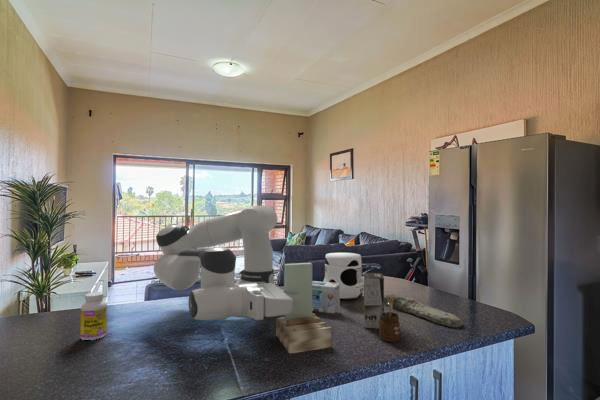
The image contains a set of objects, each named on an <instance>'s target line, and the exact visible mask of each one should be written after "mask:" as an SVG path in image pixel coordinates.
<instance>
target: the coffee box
mask: <svg viewBox="0 0 600 400" xmlns="http://www.w3.org/2000/svg"><path fill="white" fill-rule="evenodd" d="M363 284H364V291H363V328H365V329H367V328H368V329H377V330H379V323H380V320H381V313H384V312H385V311H384V306H385V303H384V294H385V278H384V274H383V273H381V272H364V273H363Z"/></svg>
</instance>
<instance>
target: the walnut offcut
mask: <svg viewBox="0 0 600 400" xmlns="http://www.w3.org/2000/svg"><path fill="white" fill-rule="evenodd" d="M319 318H320V317H318V316H317V315H315V316H313V317H305V318H297V319H289V320H286V327H289V326H297V325H305V324H312V323H319Z"/></svg>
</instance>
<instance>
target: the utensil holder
mask: <svg viewBox="0 0 600 400" xmlns="http://www.w3.org/2000/svg"><path fill="white" fill-rule="evenodd" d="M387 304H388V305H387ZM387 304H385V305H384V313H381V320H380V323H379V329H378V331H379V332H378V333H379V338H380V339H381V340H382V341H384V342H389V343H396V342H398V341H399V340H400V338H401V325H400V324H401V323H400V320H399V319H400V318H399V317H400V316H399V315H398V313H395V312H394V311H393V309H394V308H393V307H392V306H393V295H392V303H391V295H390V303H389V295H388V303H387ZM386 305H387V306H386ZM387 307H389V311H386V308H387Z"/></svg>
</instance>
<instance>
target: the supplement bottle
mask: <svg viewBox="0 0 600 400" xmlns="http://www.w3.org/2000/svg"><path fill="white" fill-rule="evenodd" d="M104 296H105V295H104V292H102V291H94V292H93V291H92V292H88V293H86V294H85V295H84V300H85V302H84V303H82V304H81V306H80V339H81V340H82V341H84V340H91V341H96V339H97V340H99V338H100V339H102V338H104V337H106V336H107V331H108V330H107V329H108V327H107V325H108V324H107V323H108V322H107V321H108V320H107V319H108V303H107V301H105V300H103V299H104Z"/></svg>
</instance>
